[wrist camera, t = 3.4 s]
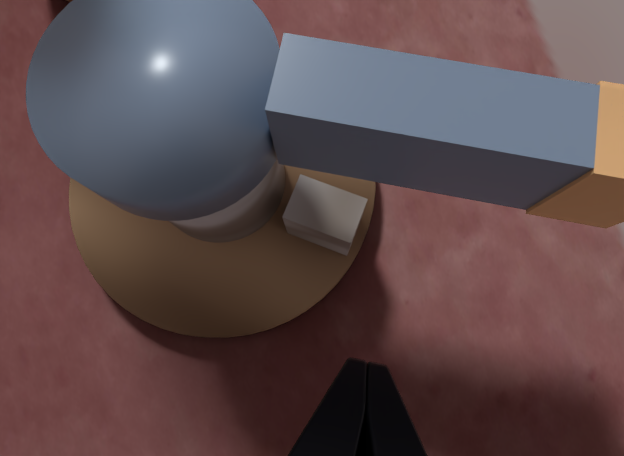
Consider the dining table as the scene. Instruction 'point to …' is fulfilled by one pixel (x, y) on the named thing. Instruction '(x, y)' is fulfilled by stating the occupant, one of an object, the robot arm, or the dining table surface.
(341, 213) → the tan disc with post
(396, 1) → the dining table surface
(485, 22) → the dining table surface
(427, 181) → the orange-banded blue bar
